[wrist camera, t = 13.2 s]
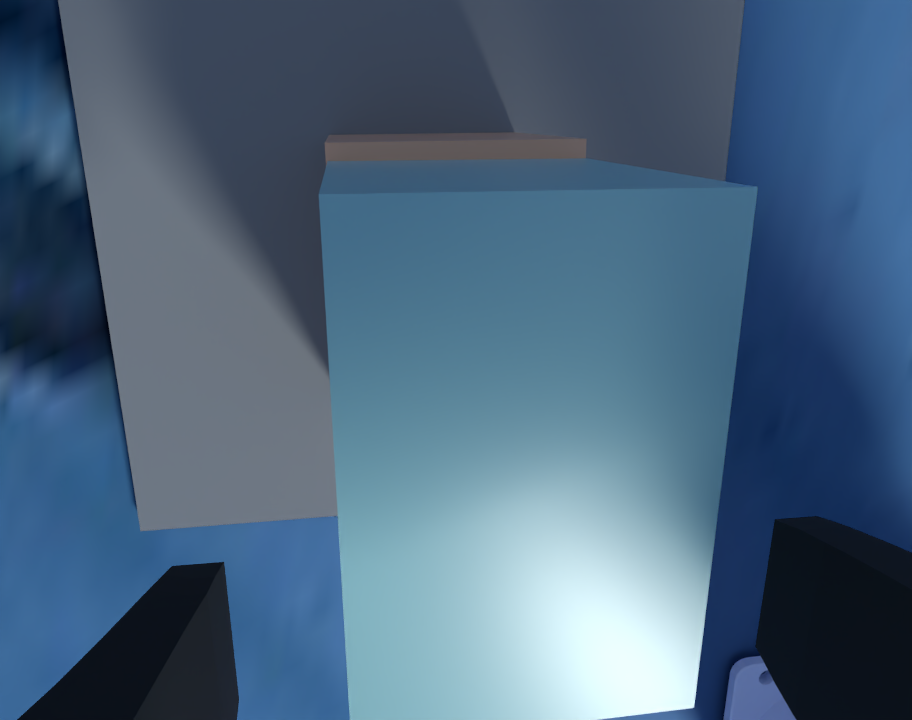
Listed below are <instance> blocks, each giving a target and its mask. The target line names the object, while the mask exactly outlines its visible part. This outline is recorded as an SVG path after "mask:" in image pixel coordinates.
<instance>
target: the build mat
mask: <svg viewBox="0 0 912 720" xmlns="http://www.w3.org/2000/svg"><path fill="white" fill-rule="evenodd" d="M744 3H745V0H58V4H59V10H60V17H61V23H62V29H63V36H64V42H65V49H66V55H67V61H68V68H69V74H70V81H71V87H72V94H73V100H74V106H75V113H76V119H77V126H78V132H79V138H80V145H81V151H82V158H83V164H84V171H85V177H86V183H87V190H88V196H89V203H90V209H91V215H92V222H93V228H94V235H95V241H96V247H97V254H98V260H99V267H100V273H101V280H102V286H103V292H104V299H105V305H106V312H107V318H108V324H109V331H110V337H111V344H112V350H113V357H114V363H115V369H116V376H117V382H118V389H119V395H120V401H121V408H122V414H123V421H124V427H125V434H126V440H127V446H128V453H129V459H130V466H131V472H132V478H133V485H134V491H135V498H136V504H137V510H138V517H139V523H140V530H141V531H148V530H161V529H174V528H187V527H200V526H213V525H226V524H238V523H251V522H264V521H277V520H290V519H303V518H315V517H328V516H338V511H337V494H336V478H335V461H334V444H333V427H332V410H331V394H330V377H329V360H328V343H327V326H326V309H325V293H324V276H323V259H322V242H321V225H320V209H319V191H320V188H321V184H322V180H323V176H324V173H325V169H326V158H325V141H326V139H327V138H328V136H329V135H356V134H429V133H502V132H517V133H528V134H539V135H550V136H562V137H573V138H584V139H587V141H586V158H588V159H594V160H600V161H606V162H612V163H618V164H624V165H630V166H636V167H642V168H648V169H654V170H660V171H666V172H672V173H678V174H684V175H690V176H696V177H702V178H708V179H714V180H720V181H725V178H726V169H727V160H728V151H729V141H730V132H731V123H732V114H733V104H734V95H735V86H736V77H737V67H738V58H739V49H740V40H741V31H742V21H743V12H744Z"/></svg>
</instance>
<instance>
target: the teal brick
mask: <svg viewBox="0 0 912 720" xmlns="http://www.w3.org/2000/svg"><path fill="white" fill-rule="evenodd" d="M757 191H758V187H755V186H750V185H744V184H738V183H732V182H726V181H720V180H714V179H708V178H702V177H696V176H690V175H684V174H678V173H672V172H666V171H660V170H654V169H648V168H642V167H636V166H630V165H624V164H618V163H612V162H606V161H600V160H594V159H588V158H571V159H479V160H387V161H327V165H326V169H325V173H324V176H323V180H322V184H321V188H320V191H319V209H320V225H321V242H322V259H323V276H324V293H325V309H326V326H327V343H328V360H329V377H330V394H331V410H332V427H333V444H334V461H335V478H336V494H337V511H338V528H339V545H340V562H341V578H342V595H343V612H344V629H345V646H346V663H347V679H348V696H349V713H350V720H598V719H606V718H614V717H623V716H631V715H639V714H647V713H655V712H664V711H672V710H680V709H688V708H694V704H695V696H696V688H697V680H698V672H699V663H700V655H701V647H702V639H703V631H704V623H705V615H706V606H707V598H708V590H709V582H710V574H711V566H712V558H713V549H714V541H715V533H716V525H717V517H718V509H719V501H720V492H721V484H722V476H723V468H724V460H725V452H726V444H727V435H728V427H729V419H730V411H731V403H732V395H733V387H734V378H735V370H736V362H737V354H738V346H739V338H740V330H741V321H742V313H743V305H744V297H745V289H746V281H747V273H748V264H749V256H750V248H751V240H752V232H753V224H754V215H755V207H756V199H757Z"/></svg>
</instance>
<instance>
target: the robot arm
mask: <svg viewBox="0 0 912 720" xmlns="http://www.w3.org/2000/svg"><path fill="white" fill-rule="evenodd" d="M756 648H757V650H758V652H759V654H760V656H755V657H747V658H743V659H740V660H739V661H737V662H736V663H735V664H734V665H733V667H732V669H731V671H730V676H729V684H728V691H727V698H726V705H725V712H724V720H912V553H911V552H909V551H906V550H904V549H902V548H899V547H897V546H895V545H892V544H890V543H887V542H885V541H883V540H880V539H878V538H875V537H873V536H870V535H868V534H865V533H863V532H861V531H858V530H855V529H853V528H850V527H848V526H845V525H842V524H839V523H836V522H833V521H830V520H827V519H824V518H821V517H817V516H814V517H801V518H788V519H775V522H774V529H773V535H772V542H771V548H770V555H769V561H768V568H767V574H766V581H765V587H764V594H763V600H762V607H761V613H760V620H759V627H758V633H757V640H756ZM764 671H766V672H765V673H764V674H762V673H763V672H764ZM238 703H239V696H238V686H237V677H236V668H235V659H234V650H233V640H232V631H231V622H230V613H229V604H228V595H227V585H226V576H225V567H224V562H219V563H206V564H193V565H180V566H172V567H171V568H170V569H169V570H168V571H167V572H166V573H165V574H164V575H163V576H162V577H161V578H160V579H159V580H158V581H157V582H156V583H155V584H154V585H153V586H152V587H151V588H150V589H149V590H148V591H147V592H146V593H145V594H144V595H143V596H142V597H141V598H140V599H139V600H138V601H137V602H136V603H135V604H134V605H133V607H132V608H131V609H130V610H129V611H128V612H127V613H126V614H125V615H124V616H123V617H122V618H121V619H120V620H119V621H118V622H117V623H116V624H115V625H114V626H113V627H112V628H111V629H110V630H109V631H108V633H107V634H106V635H105V636H104V637H103V638H102V639H101V640H100V641H99V642H98V643H97V644H96V645H95V646H94V647H93V648H92V649H91V650H90V651H89V652H88V653H87V654H86V655H85V656H84V657H83V658H82V659H81V660H80V661H79V662H78V663H77V664H76V665H75V666H74V667H73V668H72V669H71V670H70V671H69V672H68V673H67V674H66V675H65V676H64V677H63V678H62V679H61V680H60V681H59V682H58V683H57V684H56V685H55V686H54V687H52V688H51V689H50V690H49V691H48V692H47V693H46V694H45V695H44V696H43V697H42V698H40V699H39V700H38V701H37V702H36V703H35V704H34V705H33V706H32V707H31V708H30V709H28V710H27V711H26V712H25V713H24V714H23V715H22V716H21V717H20V718H19V719H17V720H237V712H238Z"/></svg>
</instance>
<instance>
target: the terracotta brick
mask: <svg viewBox="0 0 912 720" xmlns="http://www.w3.org/2000/svg"><path fill="white" fill-rule="evenodd" d="M586 141H587V139H584V138H573V137H562V136H550V135H539V134H528V133H517V132H502V133H429V134H356V135H329V136H328V138H327V139H326V141H325V158H326V165H327V161H387V160H479V159H571V158H586Z"/></svg>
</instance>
